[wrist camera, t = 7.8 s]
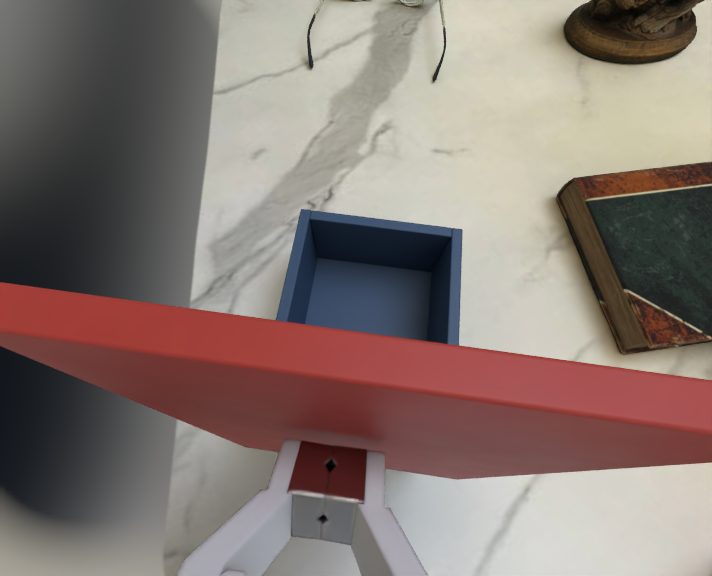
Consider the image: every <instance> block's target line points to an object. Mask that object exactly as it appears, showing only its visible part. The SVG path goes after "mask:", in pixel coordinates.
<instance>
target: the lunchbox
mask: <svg viewBox="0 0 712 576" xmlns="http://www.w3.org/2000/svg"><path fill="white" fill-rule="evenodd" d="M461 257H462V229H455V228H447V227H439V226H431V225H423V224H415V223H407V222H399V221H391V220H383V219H375V218H367V217H359V216H351V215H343V214H335V213H327V212H319V211H311V210H305V209H301V212H300V217H299V221H298V225H297V230H296V234H295V239H294V243H293V247H292V252H291V256H290V261H289V265H288V269H287V274H286V278H285V283H284V287H283V291H282V296H281V300H280V305H279V309H278V313H277V318H276V321H284V322H291V323H298V324H305V325H313V326H320V327H327V328H334V329H342V330H349V331H356V332H363V333H371V334H378V335H385V336H392V337H400V338H407V339H414V340H421V341H429V342H436V343H443V344H450V345H458V346H459V321H460V289H461Z"/></svg>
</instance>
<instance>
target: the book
mask: <svg viewBox="0 0 712 576" xmlns="http://www.w3.org/2000/svg"><path fill="white" fill-rule="evenodd" d="M556 198H557V200H558V204H559V206H560V208H561V211H562V213H563V215H564V217H565V220H566V222H567V225H568V227H569V230H570V232H571V234H572V237H573V239H574V242H575V244H576V247H577V249H578V252H579V254H580V257H581V259H582V262H583V264H584V267H585V269H586V271H587V274H588V276H589V278H590V281H591V283H592V285H593V288H594V290H595V292H596V295H597V297H598V299H599V302H600V304H601V306H602V309H603V311H604V313H605V316H606V318H607V320H608V323H609V325H610V327H611V330H612V332H613V334H614V337H615V339H616V341H617V344H618V346H619V349H620V351H621V353H622V354H624V355H626V354H633V353H640V352H646V351H653V350H660V349H666V348H673V347H680V346H686V345H693V344H700V343H706V342H712V162H705V163H696V164H687V165H679V166H670V167H662V168H653V169H645V170H636V171H627V172H619V173H610V174H602V175H594V176H586V177H578V178H573V179H572V180H570V181H569V182H568V183H566V184H565V185H564V186H563V187H562V188H561V190H560V191H559V192H558V194H557V196H556Z"/></svg>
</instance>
